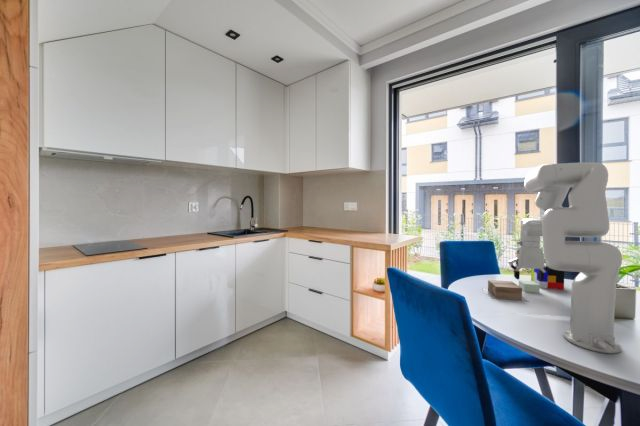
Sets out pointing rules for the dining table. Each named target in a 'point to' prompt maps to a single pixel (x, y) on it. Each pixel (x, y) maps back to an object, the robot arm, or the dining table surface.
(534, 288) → the sage brick
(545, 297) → the dining table surface
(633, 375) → the dining table surface
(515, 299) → the baseplate
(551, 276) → the puzzle toy
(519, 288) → the walnut block
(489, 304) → the dining table surface
